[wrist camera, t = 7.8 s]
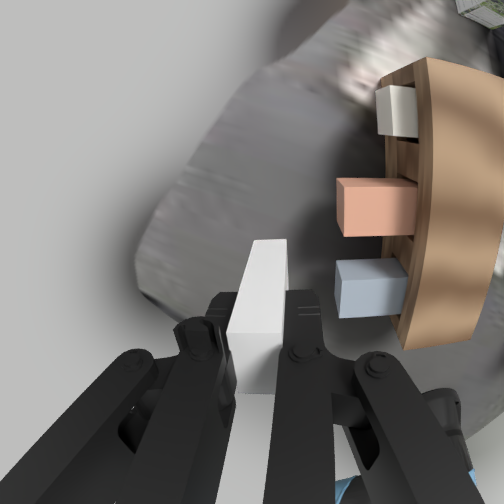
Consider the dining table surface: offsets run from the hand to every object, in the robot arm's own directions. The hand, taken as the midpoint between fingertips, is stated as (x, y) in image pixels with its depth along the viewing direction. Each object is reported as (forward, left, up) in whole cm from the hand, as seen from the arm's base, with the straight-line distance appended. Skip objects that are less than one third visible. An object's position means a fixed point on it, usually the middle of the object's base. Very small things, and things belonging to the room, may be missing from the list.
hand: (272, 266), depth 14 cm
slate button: (-8, -10, -13) cm, 18 cm away
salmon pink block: (0, -10, -13) cm, 16 cm away
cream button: (+8, -14, -13) cm, 20 cm away
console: (0, -15, -17) cm, 23 cm away
